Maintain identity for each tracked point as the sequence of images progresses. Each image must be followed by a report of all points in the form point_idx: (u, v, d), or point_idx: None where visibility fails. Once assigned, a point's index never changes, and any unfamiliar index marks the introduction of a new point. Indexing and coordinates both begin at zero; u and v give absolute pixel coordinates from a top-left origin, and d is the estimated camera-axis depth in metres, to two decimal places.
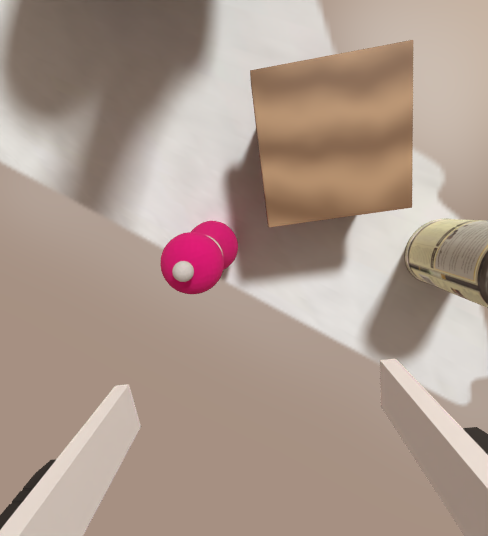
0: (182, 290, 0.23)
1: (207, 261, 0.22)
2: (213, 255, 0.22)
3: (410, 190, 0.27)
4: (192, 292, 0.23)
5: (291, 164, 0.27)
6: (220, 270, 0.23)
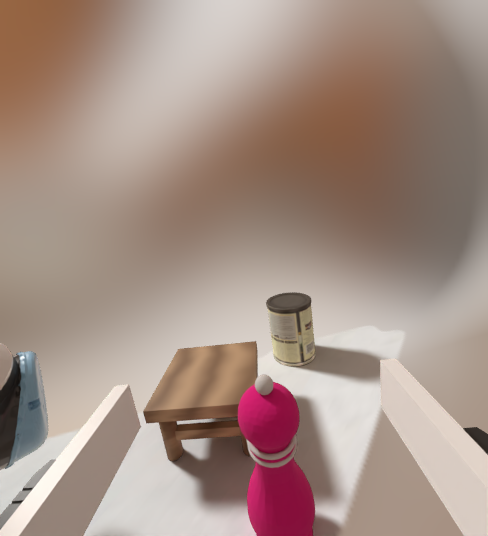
0: (288, 403, 0.23)
1: None
2: None
3: (246, 342, 0.49)
4: (291, 398, 0.23)
5: (213, 389, 0.37)
6: None
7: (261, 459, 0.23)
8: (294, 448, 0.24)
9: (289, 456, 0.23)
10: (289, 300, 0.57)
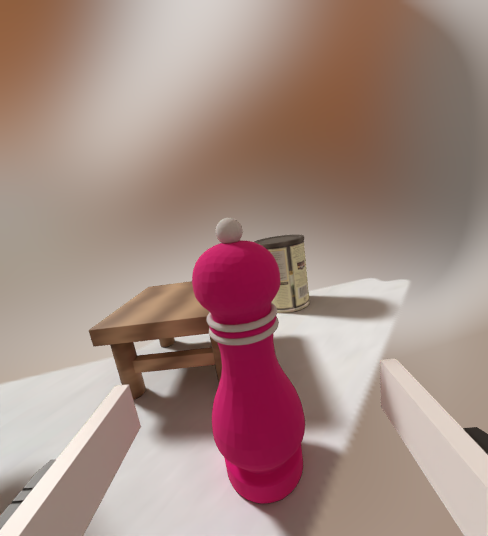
0: (263, 251, 0.15)
1: None
2: None
3: None
4: (269, 252, 0.16)
5: (180, 308, 0.30)
6: None
7: (224, 334, 0.16)
8: (273, 324, 0.16)
9: (265, 331, 0.16)
10: (279, 239, 0.50)
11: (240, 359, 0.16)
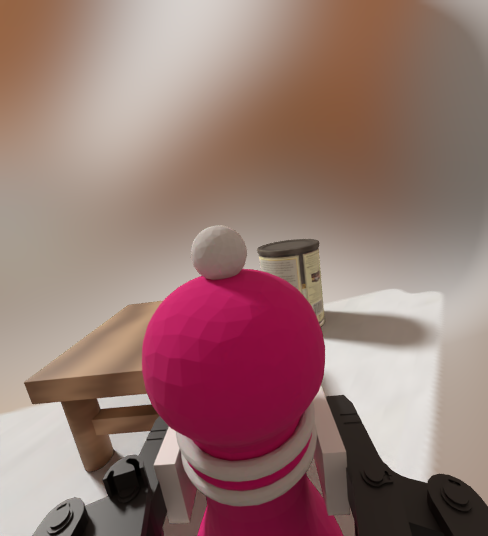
0: (293, 298, 0.07)
1: None
2: None
3: None
4: (301, 295, 0.08)
5: None
6: None
7: (208, 479, 0.07)
8: (310, 444, 0.08)
9: (296, 468, 0.07)
10: (288, 245, 0.42)
11: (242, 519, 0.08)
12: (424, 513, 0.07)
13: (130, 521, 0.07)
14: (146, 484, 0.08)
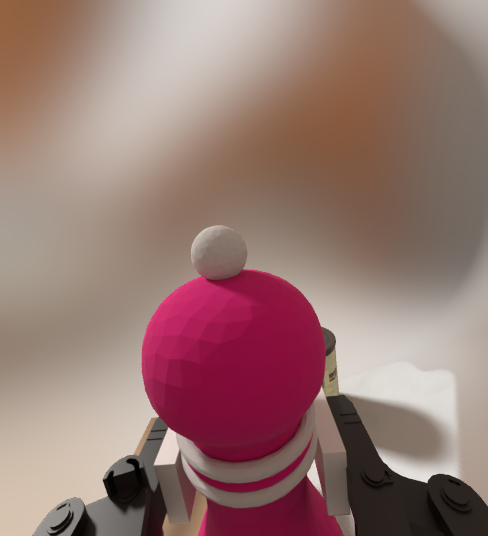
0: (293, 299, 0.07)
1: None
2: None
3: None
4: (302, 296, 0.08)
5: (197, 524, 0.22)
6: None
7: (208, 480, 0.07)
8: (311, 445, 0.08)
9: (297, 470, 0.07)
10: None
11: (242, 521, 0.08)
12: (424, 513, 0.07)
13: (130, 521, 0.07)
14: (146, 484, 0.08)
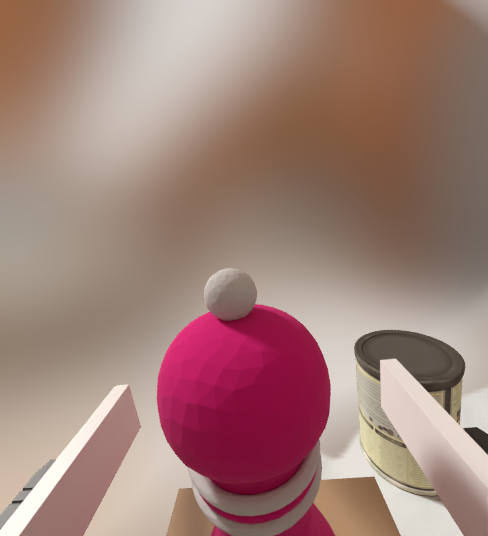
0: (301, 341, 0.08)
1: None
2: None
3: (351, 480, 0.20)
4: (308, 334, 0.08)
5: None
6: None
7: (219, 512, 0.08)
8: (316, 475, 0.08)
9: (303, 501, 0.08)
10: (406, 352, 0.28)
11: None
12: None
13: None
14: None
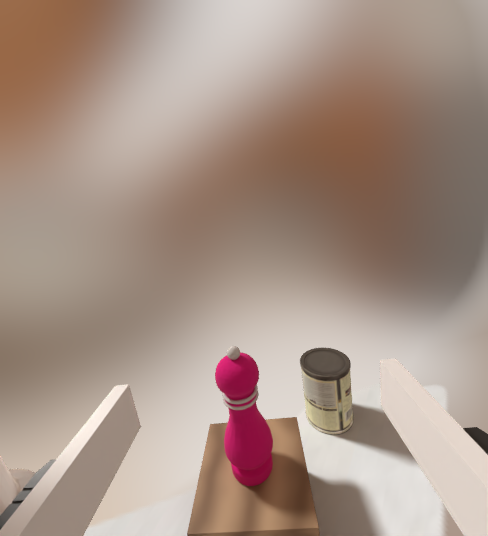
0: (250, 365, 0.32)
1: None
2: None
3: (286, 418, 0.45)
4: (253, 362, 0.33)
5: (263, 499, 0.33)
6: None
7: (231, 404, 0.33)
8: (255, 398, 0.33)
9: (251, 402, 0.33)
10: (325, 361, 0.53)
11: (239, 415, 0.33)
12: None
13: None
14: None
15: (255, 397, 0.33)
